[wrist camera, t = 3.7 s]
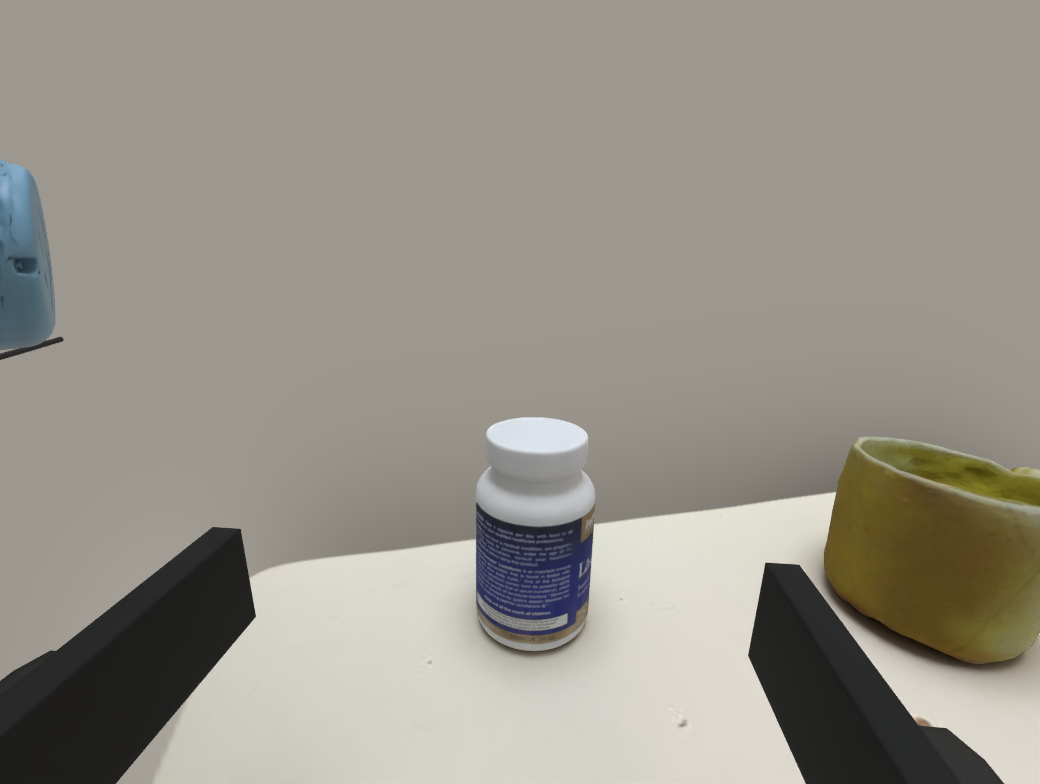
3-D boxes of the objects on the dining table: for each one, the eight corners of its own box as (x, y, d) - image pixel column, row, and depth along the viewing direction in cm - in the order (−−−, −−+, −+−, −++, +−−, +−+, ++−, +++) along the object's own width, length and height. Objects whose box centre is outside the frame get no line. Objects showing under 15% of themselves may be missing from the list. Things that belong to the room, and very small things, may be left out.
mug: (922, 678, 19) (965, 430, 19) (770, 581, 29) (800, 420, 30) (1199, 727, 20) (1236, 487, 20) (957, 616, 30) (984, 458, 30)
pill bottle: (603, 648, 23) (619, 453, 20) (482, 665, 22) (480, 462, 19) (569, 570, 28) (577, 408, 25) (471, 581, 27) (468, 413, 24)
